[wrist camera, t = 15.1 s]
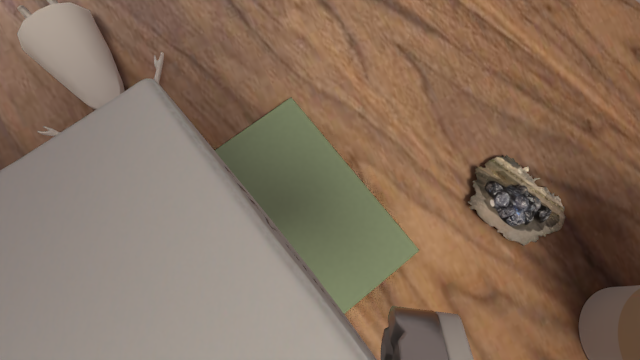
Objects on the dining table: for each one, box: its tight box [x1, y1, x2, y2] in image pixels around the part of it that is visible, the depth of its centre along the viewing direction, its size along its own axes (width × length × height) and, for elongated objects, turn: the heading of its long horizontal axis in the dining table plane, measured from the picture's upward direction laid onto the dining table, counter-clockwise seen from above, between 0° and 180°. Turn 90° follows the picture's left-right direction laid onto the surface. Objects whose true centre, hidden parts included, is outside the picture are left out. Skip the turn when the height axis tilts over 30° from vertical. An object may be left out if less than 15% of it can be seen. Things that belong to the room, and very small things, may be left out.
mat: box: [215, 98, 419, 314], centre depth 28 cm, size 18×16×1 cm
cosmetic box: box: [0, 79, 377, 360], centre depth 9 cm, size 6×4×12 cm
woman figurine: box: [17, 0, 164, 136], centre depth 30 cm, size 12×4×18 cm
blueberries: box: [468, 155, 566, 245], centre depth 29 cm, size 7×8×2 cm
